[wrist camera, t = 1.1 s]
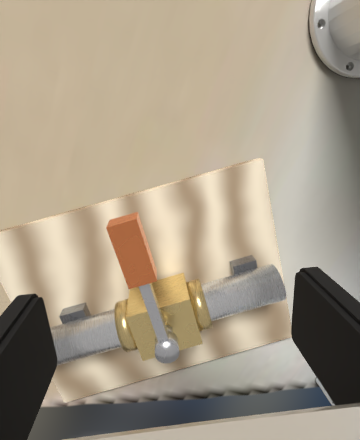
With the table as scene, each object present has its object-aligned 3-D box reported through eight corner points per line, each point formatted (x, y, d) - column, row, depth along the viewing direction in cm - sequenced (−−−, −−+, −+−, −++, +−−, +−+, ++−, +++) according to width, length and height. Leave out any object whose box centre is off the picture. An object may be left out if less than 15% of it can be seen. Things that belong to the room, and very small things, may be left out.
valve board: (258, 158, 35) (263, 159, 33) (288, 329, 43) (293, 336, 41) (-15, 234, 34) (-23, 239, 33) (67, 393, 42) (64, 402, 41)
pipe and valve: (262, 248, 37) (290, 277, 29) (269, 287, 38) (297, 324, 31) (34, 313, 36) (4, 359, 29) (53, 349, 38) (29, 402, 31)
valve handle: (137, 211, 26) (136, 219, 23) (181, 344, 30) (183, 360, 28) (109, 219, 26) (106, 227, 23) (157, 351, 30) (157, 368, 28)
